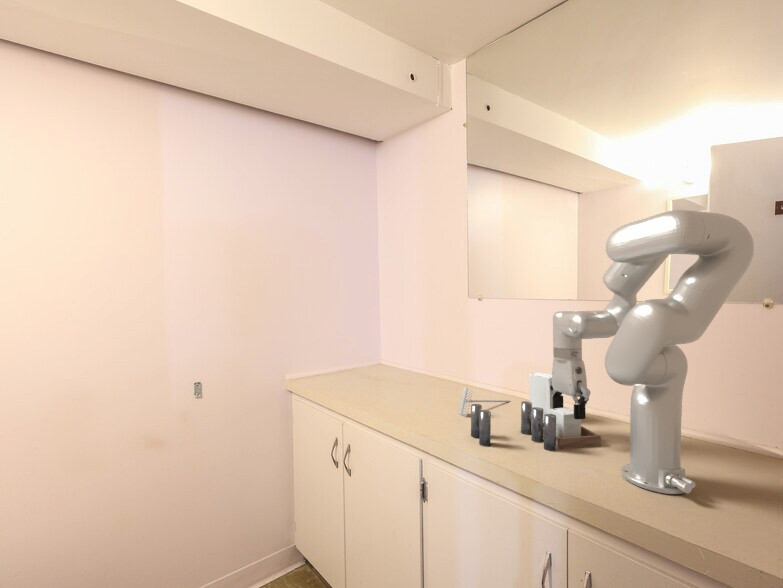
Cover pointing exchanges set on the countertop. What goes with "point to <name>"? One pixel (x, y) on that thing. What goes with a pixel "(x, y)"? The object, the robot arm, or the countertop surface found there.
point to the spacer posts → (529, 425)
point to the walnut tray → (578, 439)
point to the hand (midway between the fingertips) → (568, 413)
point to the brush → (464, 401)
